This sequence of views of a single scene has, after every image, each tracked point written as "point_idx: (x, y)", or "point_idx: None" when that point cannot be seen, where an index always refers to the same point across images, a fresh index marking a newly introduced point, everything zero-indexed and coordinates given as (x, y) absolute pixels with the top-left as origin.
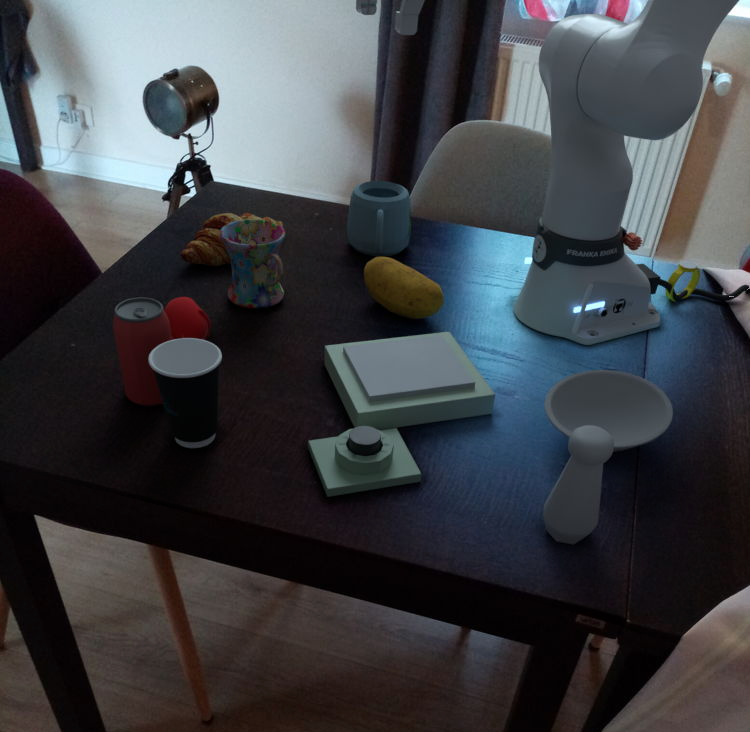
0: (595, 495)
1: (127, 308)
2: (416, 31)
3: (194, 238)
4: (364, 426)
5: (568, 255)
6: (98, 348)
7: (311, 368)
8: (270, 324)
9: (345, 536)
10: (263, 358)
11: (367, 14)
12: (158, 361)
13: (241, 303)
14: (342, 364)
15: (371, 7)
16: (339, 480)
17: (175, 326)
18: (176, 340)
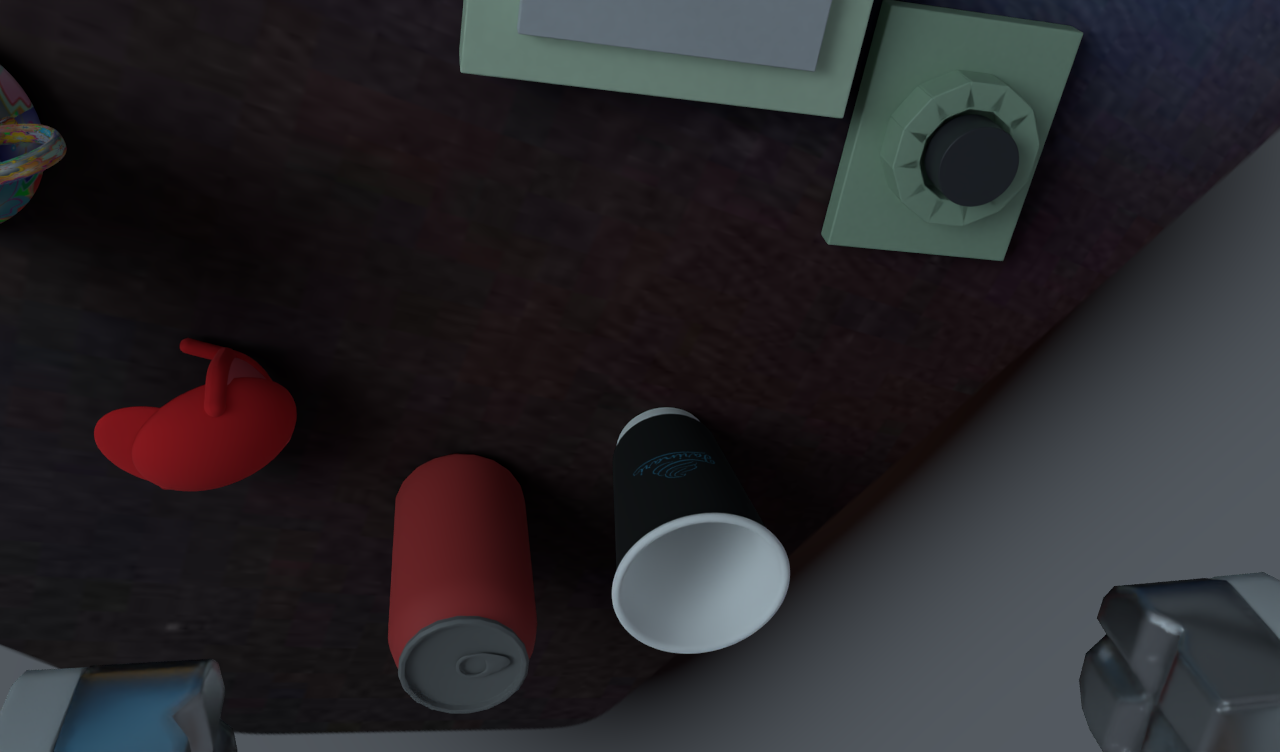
0: None
1: (441, 685)
2: (1270, 576)
3: None
4: (949, 155)
5: None
6: (202, 581)
7: (466, 98)
8: (146, 132)
9: (1111, 256)
10: (365, 215)
11: (221, 725)
12: (645, 614)
13: (19, 208)
14: (593, 62)
15: (205, 749)
16: (994, 228)
17: (261, 466)
18: (619, 595)
